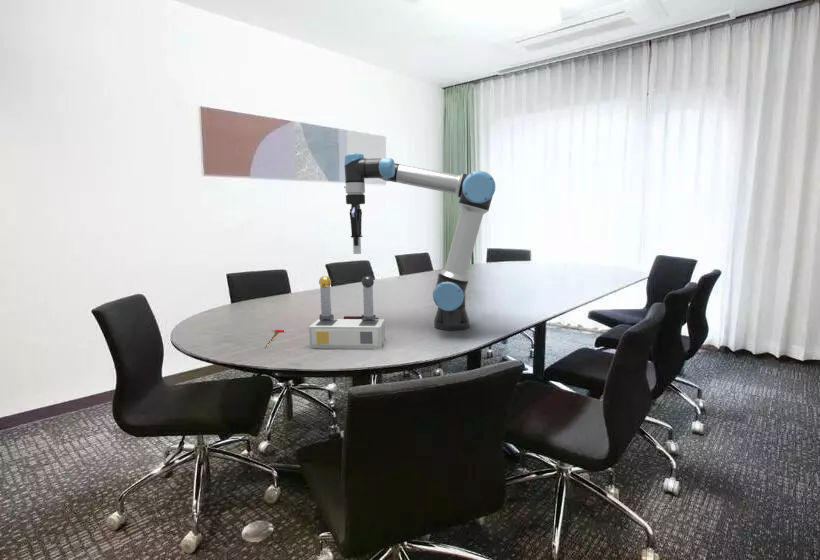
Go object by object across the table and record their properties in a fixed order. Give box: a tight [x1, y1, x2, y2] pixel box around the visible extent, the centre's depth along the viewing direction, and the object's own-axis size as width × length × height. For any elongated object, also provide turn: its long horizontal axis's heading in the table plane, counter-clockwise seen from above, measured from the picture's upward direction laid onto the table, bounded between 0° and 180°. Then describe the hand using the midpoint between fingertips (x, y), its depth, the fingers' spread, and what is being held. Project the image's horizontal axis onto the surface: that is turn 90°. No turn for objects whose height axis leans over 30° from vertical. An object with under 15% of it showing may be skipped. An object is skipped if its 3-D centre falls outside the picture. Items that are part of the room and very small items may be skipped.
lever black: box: [361, 275, 377, 321], centre depth 163 cm, size 5×4×17 cm
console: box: [308, 318, 386, 350], centre depth 166 cm, size 26×12×8 cm, turn 85°
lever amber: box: [318, 275, 335, 321], centre depth 164 cm, size 5×4×17 cm
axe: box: [264, 329, 285, 349], centre depth 175 cm, size 26×1×10 cm
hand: (357, 253), depth 178 cm, fingers closed
